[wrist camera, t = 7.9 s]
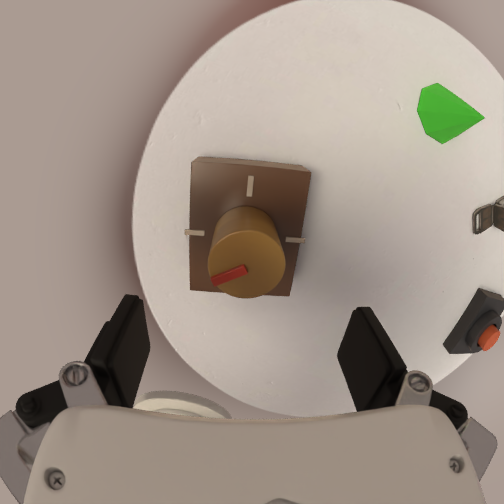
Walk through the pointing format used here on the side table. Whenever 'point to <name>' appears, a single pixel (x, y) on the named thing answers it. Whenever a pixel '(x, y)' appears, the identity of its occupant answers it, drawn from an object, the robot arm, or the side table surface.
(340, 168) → the side table surface
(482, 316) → the button box
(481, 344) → the button
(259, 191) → the panel
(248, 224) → the knob
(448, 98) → the gemstone
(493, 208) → the strap clip
